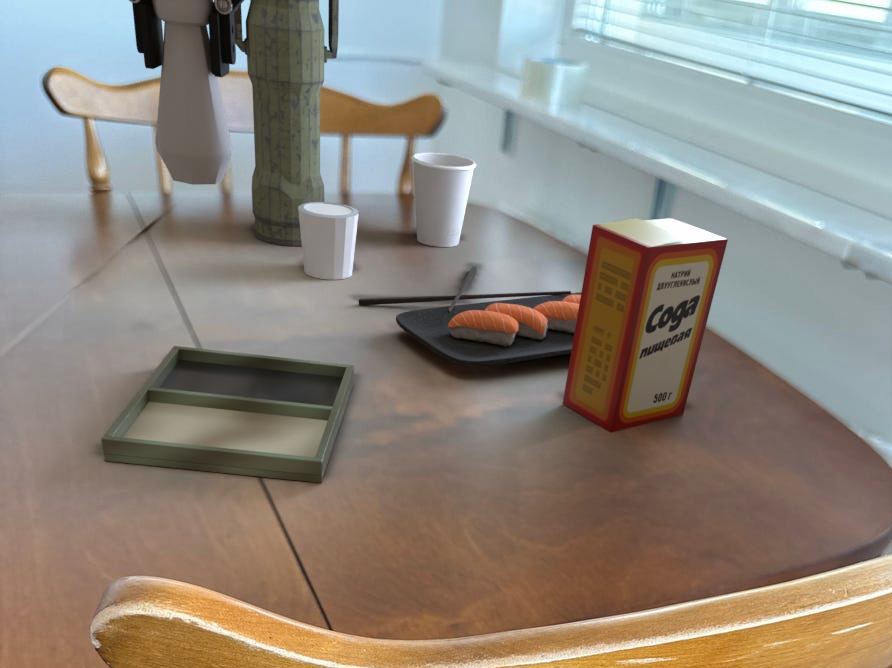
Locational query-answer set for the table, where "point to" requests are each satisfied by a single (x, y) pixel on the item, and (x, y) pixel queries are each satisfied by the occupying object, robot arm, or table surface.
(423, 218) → the dixie cup
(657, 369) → the baking soda box
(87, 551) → the table surface
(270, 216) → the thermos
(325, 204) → the white faceted cup
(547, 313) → the sushi plate
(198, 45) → the salt shaker
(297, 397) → the sorting tray
